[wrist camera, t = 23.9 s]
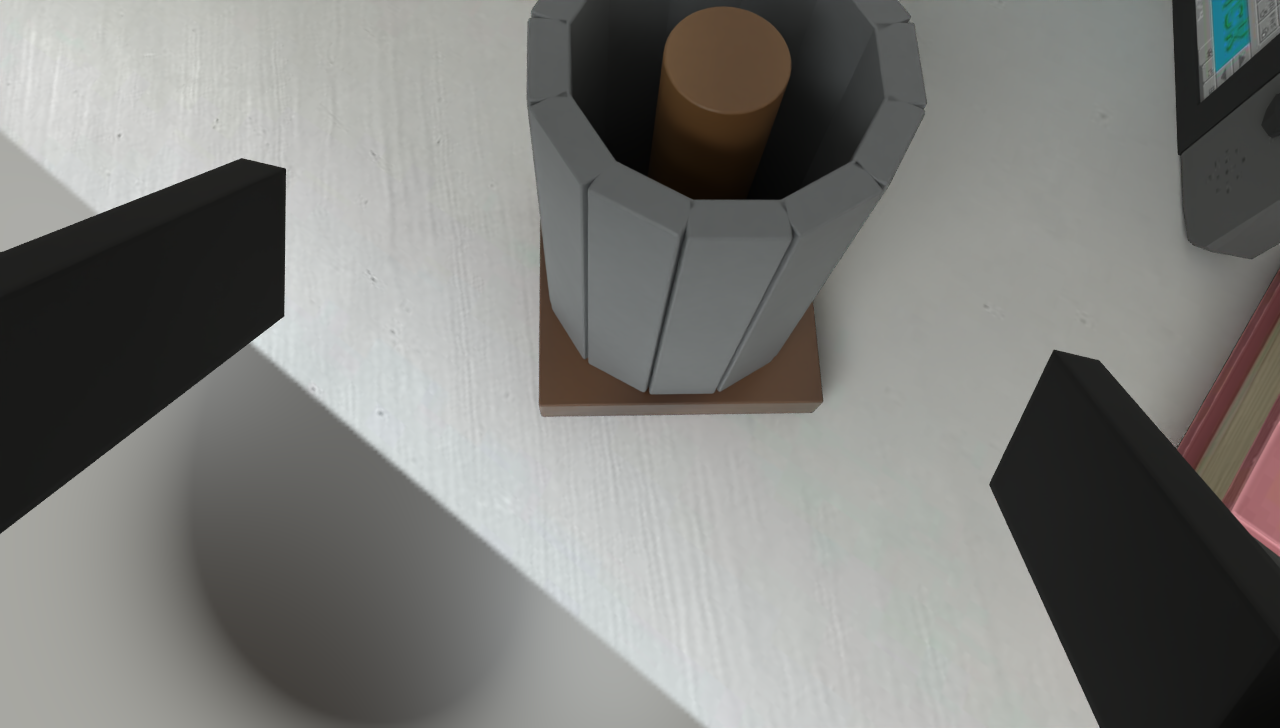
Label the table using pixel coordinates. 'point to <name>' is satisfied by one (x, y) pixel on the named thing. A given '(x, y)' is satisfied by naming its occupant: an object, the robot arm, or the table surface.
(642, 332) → the slatted grey tube
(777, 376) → the stand
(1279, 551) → the book
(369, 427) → the table surface
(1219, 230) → the handheld gaming console
